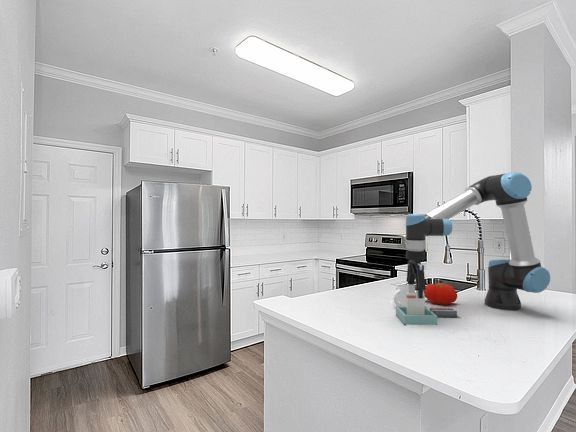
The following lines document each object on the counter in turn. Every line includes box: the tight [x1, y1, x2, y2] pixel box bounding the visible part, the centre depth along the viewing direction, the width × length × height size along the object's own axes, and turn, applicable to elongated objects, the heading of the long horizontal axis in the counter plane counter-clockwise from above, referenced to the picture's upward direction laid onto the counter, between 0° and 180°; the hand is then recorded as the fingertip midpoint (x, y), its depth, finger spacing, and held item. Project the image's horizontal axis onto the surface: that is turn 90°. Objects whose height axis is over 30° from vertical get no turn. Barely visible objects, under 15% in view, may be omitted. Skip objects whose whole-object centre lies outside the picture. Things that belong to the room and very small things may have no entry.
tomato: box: [423, 282, 458, 306], centre depth 164 cm, size 14×16×10 cm
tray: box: [395, 306, 438, 326], centre depth 137 cm, size 13×13×4 cm
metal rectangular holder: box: [429, 307, 461, 319], centre depth 143 cm, size 12×8×3 cm, turn 86°
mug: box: [393, 283, 408, 307], centre depth 157 cm, size 12×8×10 cm
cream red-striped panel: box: [407, 292, 426, 315], centre depth 137 cm, size 7×1×11 cm, turn 86°
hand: (415, 302), depth 137 cm, fingers open, 10 cm apart
